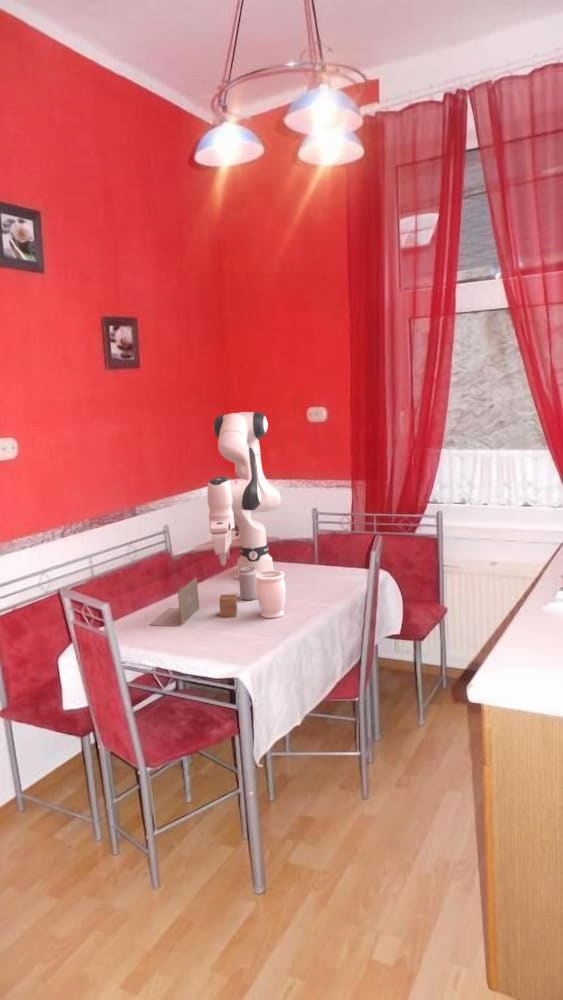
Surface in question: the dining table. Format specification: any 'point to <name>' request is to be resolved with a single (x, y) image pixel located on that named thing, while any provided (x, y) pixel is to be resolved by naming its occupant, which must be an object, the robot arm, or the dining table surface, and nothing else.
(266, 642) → the dining table surface
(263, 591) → the jar
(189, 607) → the laptop
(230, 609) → the walnut block
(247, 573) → the can
